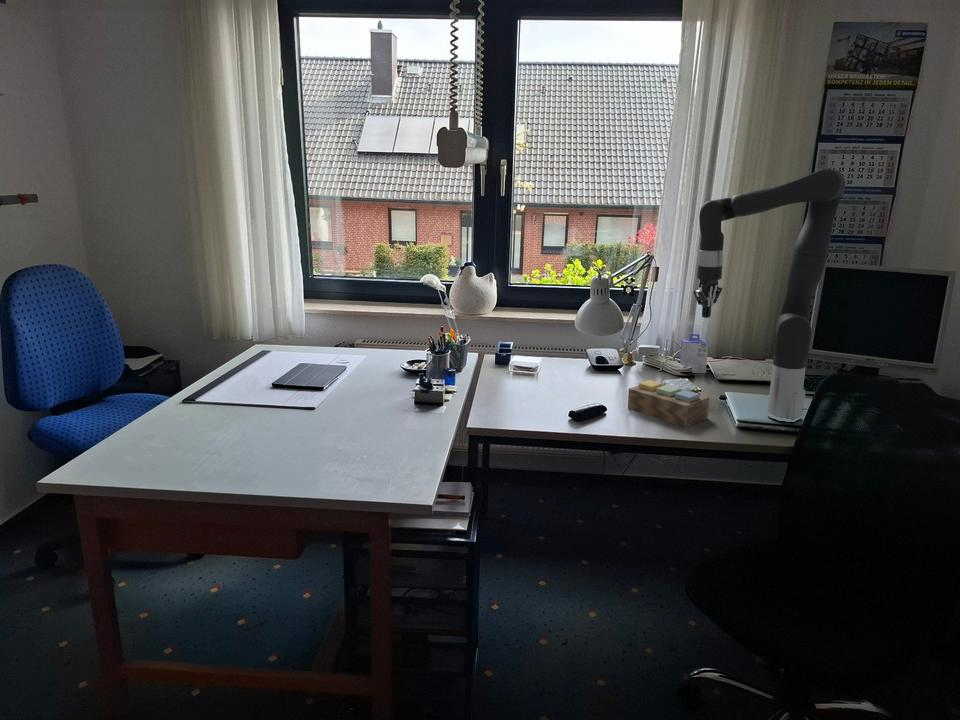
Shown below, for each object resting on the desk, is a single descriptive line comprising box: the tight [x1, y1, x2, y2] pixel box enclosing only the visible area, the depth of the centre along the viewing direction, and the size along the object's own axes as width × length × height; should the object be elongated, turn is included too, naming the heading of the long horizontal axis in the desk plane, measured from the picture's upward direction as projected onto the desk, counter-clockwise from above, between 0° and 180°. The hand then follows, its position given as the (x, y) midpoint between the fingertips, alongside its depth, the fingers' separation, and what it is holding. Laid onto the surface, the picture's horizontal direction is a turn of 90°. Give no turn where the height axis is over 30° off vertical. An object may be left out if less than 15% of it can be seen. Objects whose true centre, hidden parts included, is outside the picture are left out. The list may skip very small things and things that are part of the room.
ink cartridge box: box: [679, 333, 709, 374], centre depth 255 cm, size 10×6×14 cm, turn 78°
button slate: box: [675, 389, 700, 402], centre depth 206 cm, size 5×5×7 cm
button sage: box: [656, 384, 681, 396], centre depth 212 cm, size 5×5×7 cm
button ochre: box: [638, 379, 663, 391], centre depth 217 cm, size 5×5×7 cm
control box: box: [627, 383, 710, 428], centre depth 212 cm, size 22×12×7 cm, turn 38°
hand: (706, 317), depth 216 cm, fingers closed
